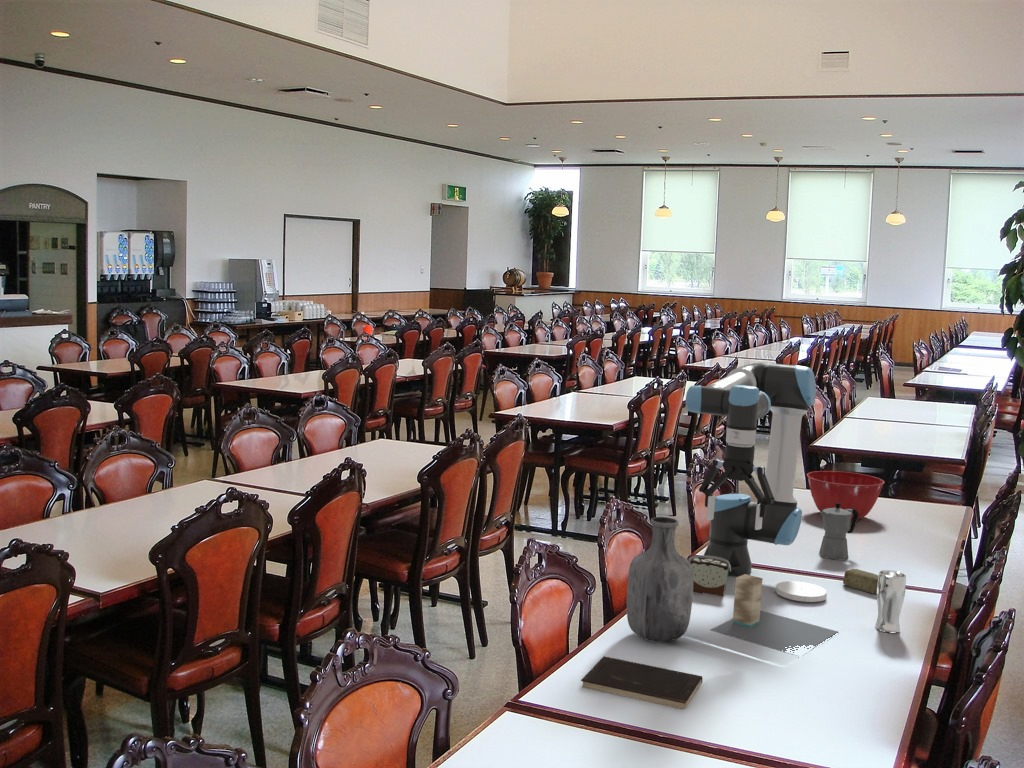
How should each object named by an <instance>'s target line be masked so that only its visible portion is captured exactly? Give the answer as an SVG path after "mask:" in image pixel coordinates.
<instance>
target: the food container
mask: <svg viewBox="0 0 1024 768" xmlns="http://www.w3.org/2000/svg"><path fill="white" fill-rule="evenodd" d="M688 561H689V562H690V564H691V565H692V569H693V594H697V595H703V594H708V595H713V596H717V597H718V596H720V597H724V596H725V594H726V593H725V591H726V588H727V587H726V586H727V583H728V581H727V580H728V576H729V575H728V571H729V569H730V572H731V566H730V563H729V561H727V560H726V559H723V558H720V557H715V556H706V555H704V554H703V555H694V556H690V557H689V559H688Z"/></svg>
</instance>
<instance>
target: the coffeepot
mask: <svg viewBox="0 0 1024 768" xmlns="http://www.w3.org/2000/svg"><path fill="white" fill-rule="evenodd" d="M835 504H836V508H827V509H824V510H822V511H823V512H822V513H821V512H820V516H822V524H823V526H822V527H823V531H824V535H823V537H822V541H821V545H820V549H819V550H818V551H819V552H818V554H819V556H820V557H822V556H823V557H822V558H824V557H827V558H826V559H828V558H831V559H830V560H833V559H845V560H847V559H848V558H849V551H848V539H847V534H852V533H853V532H854V530H855V527H856V523H857V521H858V520H857V519H858V516H859V513H858V512H857V511H856V509H846V510H844V509H840V505H841V504H840V503H835ZM852 514H853V515H854V516H853V520H851V517H852ZM846 558H847V559H846Z"/></svg>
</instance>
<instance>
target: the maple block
mask: <svg viewBox="0 0 1024 768" xmlns="http://www.w3.org/2000/svg"><path fill="white" fill-rule="evenodd" d="M734 587H735V588H734V601H733V602H734V603H733V612H732V613H733V615H732V616H733V617H732V619H733V623H736V624H740V625H743V626H747V627H752V626H754V625H756V624H758V623H759V618H760V611H761V603H762V592H763V590H762V589H763V578H762V577H759V576H755V575H750V574H744V575H738V576H737V577H735V586H734Z"/></svg>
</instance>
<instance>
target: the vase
mask: <svg viewBox="0 0 1024 768" xmlns="http://www.w3.org/2000/svg"><path fill="white" fill-rule="evenodd" d="M650 525H651V526H652V528H651V529H652V534H651V535H652V536H651V543H650V546H649V548H647V550H646V551H644V552H641V553H639V554H637V555H635V556H634V557H633V558H632V560H631V562H630V564H629V569H628V579H627V585H626V586H627V589H626V617H627V622H628V623H627V624H628V626H629V628H630V629H631V631H632V632H633V633H634V634H635V635H637V636H638V637H640V638H642V639H643V640H646V641H650V642H654V643H655V642H656V643H666V642H672V641H676V640H678V639H679V638H681V637H683V636H684V635H685V634H686V632H687V631H688V628H689V624H690V621H691V614H692V609H693V608H692V607H693V597H694V595H693V594H694V593H693V569H692V565H691V564H690V562H689V559H687V558H686V557H683V556H682V555H680V554H679V552H678V551H677V549H676V546H675V535H676V529H677V527H678V526H679V521H678V519H676V518H672V517H667V516H655V517H651V518H650Z"/></svg>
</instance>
